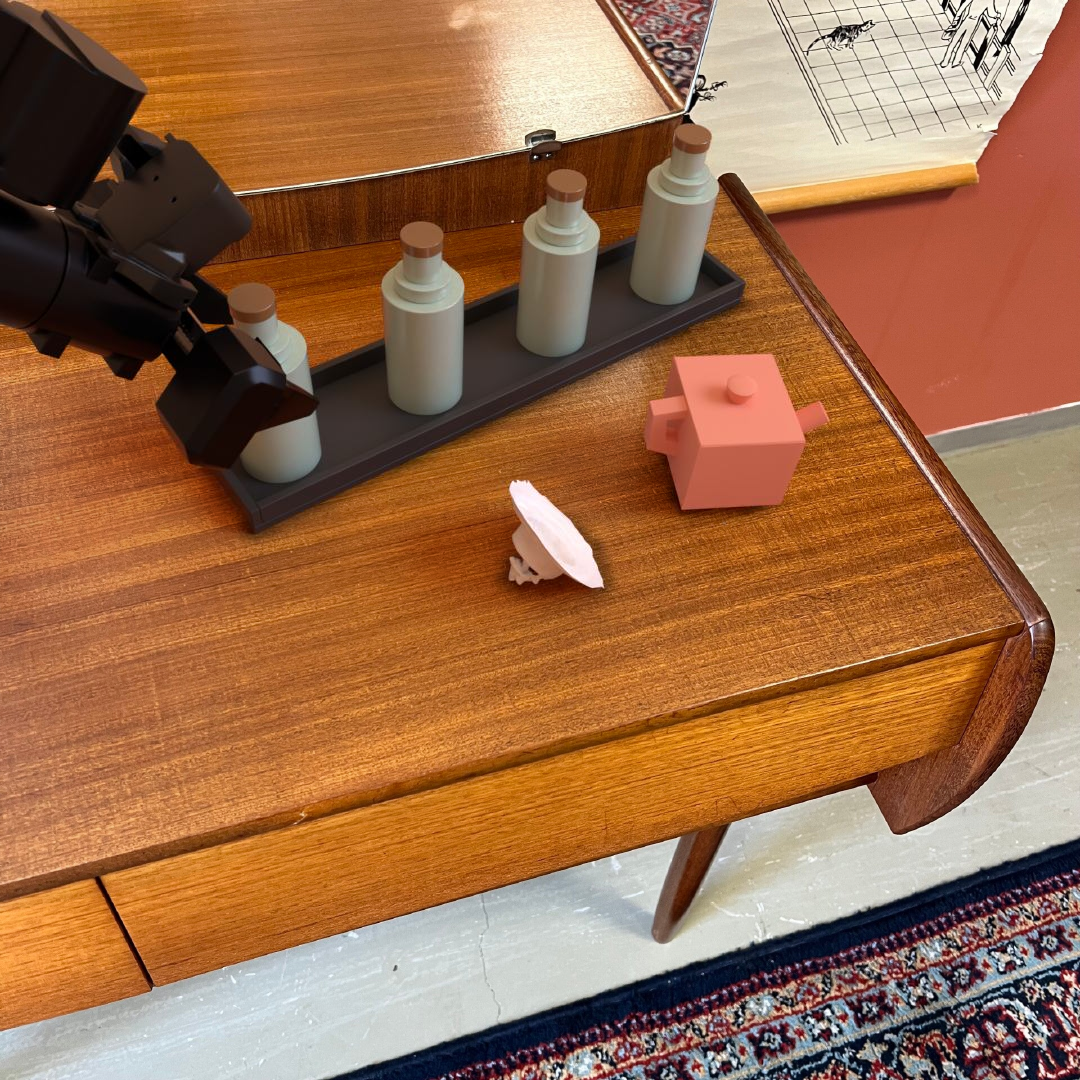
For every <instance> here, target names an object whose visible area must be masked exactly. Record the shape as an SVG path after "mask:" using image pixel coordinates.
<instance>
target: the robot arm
mask: <svg viewBox="0 0 1080 1080" xmlns="http://www.w3.org/2000/svg"><path fill="white" fill-rule="evenodd" d="M148 93H149V88H148V87H147V85H146V84H145V82H144V81H143V80H142V79H141V78H140V77H139V76H138V75H137V74H136V73H135V72H134V71H133V70H131V68H130V67H129V66H128V65H126V64H125V63H124V62H122V61H121V60H120V59H119V58H118V57H116V56H115V55H114V54H113V53H111V52H110V51H109V50H108V49H106V48H105V47H103V46H102V45H101V44H99V43H98V42H97V41H96V40H94V39H93V38H91V37H90V36H88V35H87V34H86V33H84V32H83V31H81V30H80V29H78V28H77V27H75V26H74V25H72V24H71V23H69V22H68V21H66V20H65V19H63V18H61V17H60V16H59V15H57V14H55V13H53V12H52V11H50V10H48V9H47V8H46V9H45V8H43V11H40V10H38V9H36V8H35V7H32V6H30V5H28V4H26V3H23V2H21V1H17V0H11V1H8V0H0V325H2V326H6V327H9V328H11V329H15V330H18V331H21V332H25V333H26V335H27V337H28V338H29V339H30V341H31V343H32V344H33V345H34V347H35V349H36V350H37V352H38V353H39V354H40V355H44V356H47V357H50V358H53V359H56V360H60V358H61V357H62V355H63V354H64V353H65V351H66V349H67V347H72V348H75V349H78V350H81V351H85V352H88V353H91V354H95V355H98V356H100V357H102V359H103V361H104V362H105V364H106V365H107V366H108V368H109V369H110V370H111V372H112V374H113V375H114V376H115V377H117V378H121V379H124V380H128V381H131V382H133V381H134V379H135V377H136V376H137V375H138V373H139V371H140V370H141V368H142V367H143V365H144V364H145V362H148V363H152V362H153V361H156V360H157V359H158V358H159V357H160V356H161V355H163V356H164V358H165V360H166V361H167V362H168V363H169V365H170V366H171V367H172V369H173V370H174V371H175V373H174V375H173V376H172V378H171V379H170V381H169V382H168V384H167V385H166V386H165V388H164V390H163V391H162V392H161V394H160V396H159V397H158V398H157V400H156V401H155V403H154V405H155V409H156V412H157V415H158V418H159V422H160V424H161V425H162V427H163V428H164V429H165V431H166V433H167V434H168V435H169V437H170V439H172V441H173V442H174V444H175V445H176V447H177V448H178V450H179V451H180V452H181V454H182V455H183V457H184V458H185V460H186V462H188V464H189V465H193V466H195V467H196V466H198V467H201V468H205V469H209V470H210V469H214V470H218V471H221V470H229V469H230V468H231V467H232V466H233V464H234V463H235V461H236V460H237V459H238V457H239V456H240V454H241V453H242V452H243V450H244V449H245V447H246V446H247V445H248V443H249V442H250V440H251V439H252V437H253V436H254V435H255V433H257V432H260V431H263V430H266V429H269V428H273V427H276V426H279V425H282V424H286V423H289V422H292V421H295V420H299V419H302V418H305V417H308V416H310V415H312V414H313V412H314V411H315V410H316V408H317V407H318V405H319V404H320V401H319V400H318V399H317V398H316V397H315V396H314V395H312V394H310V393H309V392H307V391H306V390H304V389H303V388H301V387H299V386H298V385H296V384H294V383H292V382H291V381H289V380H287V379H286V377H287V375H286V374H285V372H284V371H283V369H282V366H281V364H280V363H279V362H278V361H277V359H276V358H275V357H274V356H273V355H272V353H271V352H270V351H269V350H268V348H267V347H266V346H265V345H264V344H263V342H262V341H261V340H260V339H259V337H256V338H255V339H253V338H252V337H250V336H249V335H248V334H246V333H245V332H243V331H241V330H239V329H236V328H233V327H232V326H233V325H234V322H233V318H232V316H231V314H230V312H229V308H228V303H227V297H228V294H226V293H225V292H224V291H222V290H221V289H220V288H219V287H217V286H216V285H215V284H213V283H212V282H211V281H209V280H208V279H207V278H206V277H204V276H203V275H202V274H201V273H200V272H199V271H201V269H203V268H204V267H205V266H207V265H208V264H209V263H210V262H212V260H214V259H215V258H216V257H217V256H219V255H220V254H221V253H222V252H223V251H225V250H226V249H227V248H228V247H229V246H230V245H232V244H235V243H239V242H241V241H242V240H243V239H244V238H245V237H246V236H247V235H248V234H249V233H250V231H251V230H252V227H253V223H254V217H253V216H252V214H251V213H250V212H249V210H248V209H247V208H246V207H245V205H244V204H243V202H242V201H241V200H240V199H239V198H238V197H237V195H236V194H235V193H234V192H233V190H232V189H231V187H230V186H229V185H228V184H227V183H226V182H225V180H224V179H223V178H222V176H221V175H220V174H219V173H218V172H217V170H216V169H215V168H214V167H213V165H211V164H210V163H209V161H208V160H207V159H206V158H205V157H204V156H203V155H202V154H201V153H200V151H199V150H197V148H196V147H195V146H194V145H193V144H192V142H190V141H188V140H185V139H179V138H178V139H177V138H176V137H175V136H174V135H173V134H172V133H171V132H168V133H167V134H165V135H164V136H163V139H165V140H164V141H163V140H162V139H161V138H160V137H159V136H158V135H156V134H154V133H152V132H151V131H150V132H149V131H147V130H144V129H142V128H139V127H138V126H134V125H132V124H130V123H131V121H132V119H133V118H134V116H135V114H136V113H137V111H138V109H139V107H140V106H141V104H142V103H143V101H144V100H145V98H146V96H147V94H148ZM108 159H109V161H110V166H111V169H112V171H113V174H114V175H115V177H116V178H117V180H115V179H114V178H111V177H110V178H109V177H107V178H104V179H100V180H97V181H95V180H96V179H97V177H98V176H99V174H100V172H101V171H102V169H103V167H104V165H105V164H106V162H107V160H108ZM48 206H50V207H52V208H55V209H54V210H50V209H47V208H46V207H48ZM204 325H212V326H213V325H215V326H219V327H216V328H214V329H211V330H207V329H206V327H205V326H204Z"/></svg>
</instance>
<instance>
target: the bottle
mask: <svg viewBox="0 0 1080 1080" xmlns="http://www.w3.org/2000/svg"><path fill="white" fill-rule="evenodd" d="M227 296H228V297H227V303H228V308H229V312H230V314H231V316H232V318H233V322H234V325H231V327H233V328H236V329H239V330H241V331H243V332H245V333H246V334H248V335H249V336H250V337H252V338H253V339H255V338H256V337H259V339H260V340H261V341H262V342H263V344H264V345H265V346H266V347H267V348H268V350H269V351H270V352H271V353H272V355H273V356H274V357H275V358H276V359H277V361H278V362H279V363H280V364H281V366H282V369H283V371H284V372H285V374H286V375H287V377H286V379H287V380H289V381H291V382H292V383H294V384H296V385H298V386H299V387H301V388H303V389H304V390H306V391H307V392H309V393H310V394H312V395H314V394H313V387H312V380H311V374H310V368H311V367H310V361H309V354H308V347H307V342H306V339H305V337H304V336H303V335H302V333H301V332H300V331H299V330H298V329H296V328H295V327H294V326H292V325H290V324H288V323H285V322H283V321H281V320H279V319H278V315H277V310H278V309H277V308H278V305H277V298H276V294H275V292H274V290H273V289H272V288H271V287H270V286H268V285H266V284H263V283H260V282H247V283H242V284H239V285H237V286H235V287H234V288H232V289H231V290H230V291H229V293H228V294H227ZM239 457H240V461H241V464H242V466H243V468H244V469H245V471H246V472H247V473H248V474H250V475H251V476H252V477H254V478H256V479H258V480H260V481H263V482H268V483H287V482H291V481H295V480H298V479H300V478H302V477H304V476H306V475H307V474H308V473H310V472H311V471H312V470H313V469H314V468H315V467H316V465H317V464H318V462H319V460H320V457H321V443H320V436H319V429H318V422H317V415H316V410H315V411H314V412H313V414H312V415H310V416H308V417H305V418H302V419H299V420H295V421H292V422H289V423H286V424H282V425H279V426H276V427H273V428H269V429H266V430H263V431H260V432H257V433H255V435H254V436H253V437H252V439H251V440H250V442H249V443H248V445H247V446H246V447H245V449H244V450H243V452H242V453H241V454H240V456H239Z"/></svg>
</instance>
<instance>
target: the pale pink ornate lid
mask: <svg viewBox="0 0 1080 1080" xmlns="http://www.w3.org/2000/svg"><path fill="white" fill-rule="evenodd" d="M508 488H509V489H508V490H509V491H508V492H509V494H510V496H511V503H512V508H513V511H514V513H515V514H516V516H517V518H518V519H519V520H520V522H521V523H520V525H519V526H518V527H517V528H516V530H515V531H514V532H513V533H512V535H511V538H512V540H511V541H512V544H513V545H514V547H515V550H516V552H517V553H518V554H519V556H520V557H521V558H522V559H523V560H521V559H520V558H518V557H515V556H510V557H509V561H510V568H509V569H510V570H509V572H508V581H511V582H513V581H515V582H516V584H517V585H518V586H520V585H522V584H523V583H524V582H532V583H533V584H534V585H537V584H538V583H539V582H540V580H542V579H543V580H545V581H546V580H547V581H548V580H554V579H555V578H558V577H559V576H561V575H562V574H565V575H566V576H568V577H569V578H571V579H573V580H574V581H575V582H577V583H580V584H582V585H585V586H586V587H589V588H592V589H594V588H603V589H605V587H604V579H603V578H602V575H601V573H600V570H599V567H598V564H597V562H596V560H595V559H594V557H593V556H594V554H593V548H591V545H590V544H589V543H588V542H587V541H586V540H585V538H584V537H583V535H582V534H581V533H580V532H579V530H578V529H577V528H576V526H575V525H574V523H573V522H572V520H571V519H570V518H569V517H568V516H566V515H565V514H564V513H563V512H562V511H561V510H560V509H558V507H556V506H555V505H554V503H552V502H551V500H549V498H547V497H546V496H545V495H542V494H541V493H540V492H539V491H538V490H537V489H536V488H535V487H534V486H533V484H532V483H531V482H530V481H529V480H527V481H526V479H525V480H519V479H516V481H514V480H512V481H511V483H510V485H509V487H508ZM521 561H522V562H521ZM530 568H531V569H532V570H534V571H535V573H537V575H536V574H533V571H531V570H530Z"/></svg>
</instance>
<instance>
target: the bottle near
mask: <svg viewBox="0 0 1080 1080" xmlns="http://www.w3.org/2000/svg"><path fill="white" fill-rule="evenodd" d="M444 237H445V235H444V232H443V229H442V228H441V227H439V226H438V225H436V224H435V223H432V222H429V221H413V222H410V223H407V224H406V225H404V226H403V227H402V228H401V230H400V232H399V247H400V249H401V251H402V252H401V253H402V254H401V255H402V256H401V257H402V259H401V260H400V261H399V262H397V263H396V264H395V265H394V266H393V267H392V268H390V269H389V270H388V271H387V272H386V273H385V274H384V276H383V278H382V280H381V283H380V290H381V291H380V292H381V309H382V323H383V325H382V326H383V336H384V337H383V338H384V341H385V357H386V372H387V388H388V394H389V397H390V399H391V400H392V402H393V403H394V404H395V405H396V406H397V407H399V408H400V409H402V410H404V411H406V412H408V413H411V414H415V415H435V414H439V413H443V412H445V411H447V410H449V409H451V408H452V407H453V406H454V405H455V404H456V403H457V402H458V401H459V399H460V398H461V395H462V391H463V341H464V305H465V283H464V280H463V278H462V276H461V275H460V274H459V272H457V270H455V269H454V268H452V267H451V266H450V265H449V264H448V263H447V262H446V261H445V260H444V259H443V249H444V244H445V243H444V242H445V241H444Z"/></svg>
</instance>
